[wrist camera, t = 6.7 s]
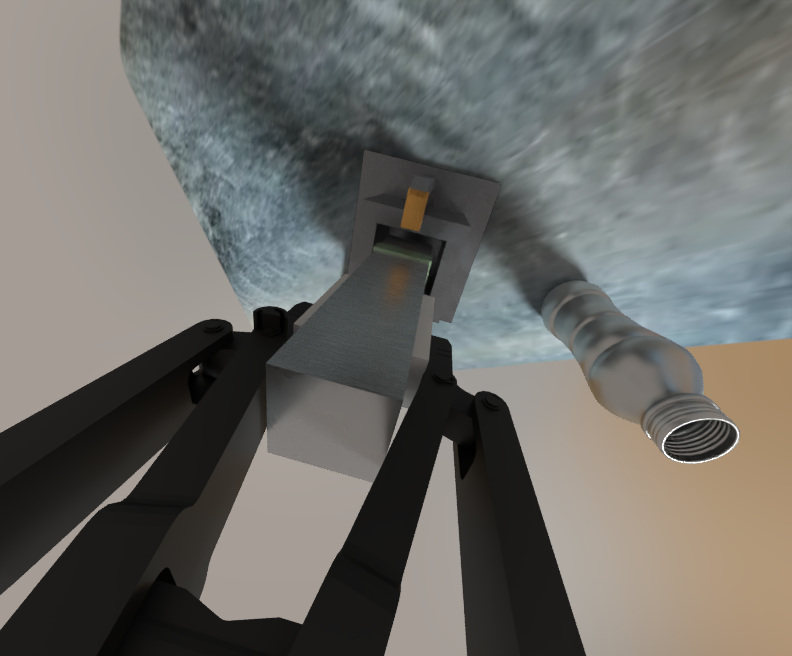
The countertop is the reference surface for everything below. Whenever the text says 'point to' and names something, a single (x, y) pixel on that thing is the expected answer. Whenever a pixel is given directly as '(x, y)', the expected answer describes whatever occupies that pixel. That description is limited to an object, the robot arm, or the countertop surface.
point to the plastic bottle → (639, 374)
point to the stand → (423, 220)
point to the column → (350, 365)
